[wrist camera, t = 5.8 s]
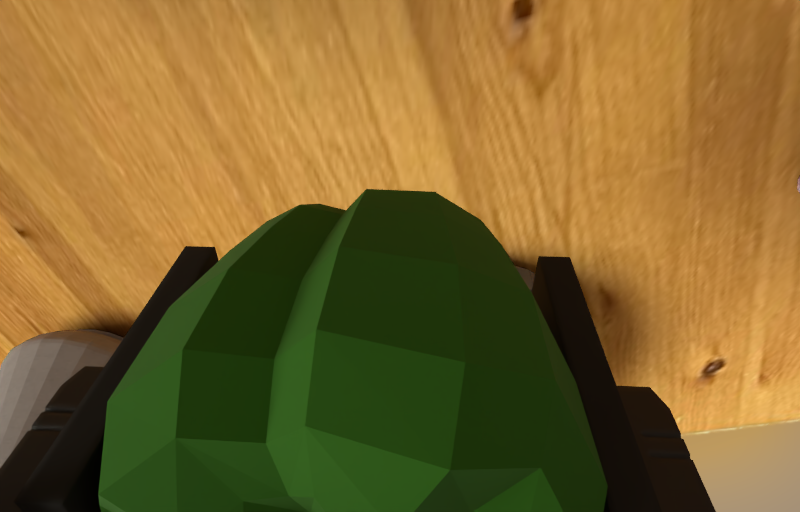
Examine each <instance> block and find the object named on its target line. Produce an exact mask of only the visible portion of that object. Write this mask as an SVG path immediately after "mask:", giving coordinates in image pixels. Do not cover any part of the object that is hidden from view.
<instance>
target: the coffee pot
mask: <svg viewBox="0 0 800 512" xmlns="http://www.w3.org/2000/svg"><path fill="white" fill-rule="evenodd" d="M122 340H123V337H120V336H118V335H115V334H112V333H109V332H104V331H99V330H90V329H80V330H75V331H72V330H66V331H56V332H51V333H46V334H41V335H38V336H36V337H33V338H31V339H29V340H27V341H25V342H23V343H21V344H20V345H18V346H16V347H14V348H13V349H12V350H11V351H10V352H9V353H8V355H7V356H6V358H5V359H4V361H3V362H2V364H1V368H0V468H1V467H2V465H3V464H4V463H5V461H6V460H7V458H8V457H9V456H10V454H11V453H12V452H13V450H14V449H15V448H16V446H17V445H18V443H19V442H20V441H21V439H22V438H23V437H24V435H25V434H26V433H27V431H30V430H31V429H32V427H31V426H32V424H33V423H34V422H35V420H36V419H37V418H38V416H39V415H40V414H41V412H44V411H45V407H46V405H47V404H48V403H49V401H50V400H51V399H52V397H53V396H54V395H55V393H56V392H57V390H58V389H59V388H60V386H61V385H62V384H63V383H65V382H66V381H67V380H68V379H70V378H71V377H72V376H73V375H75V374H76V373H77V372H78V371H80V370H81V369H82V368H83V367H85V366H95V367H105V365H106V364H107V362H108V361H109V359H110V358H111V356H112V355H113V353H114V352H115V350H116V349H117V347H118V346H119V344H120V343H121V341H122Z"/></svg>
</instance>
